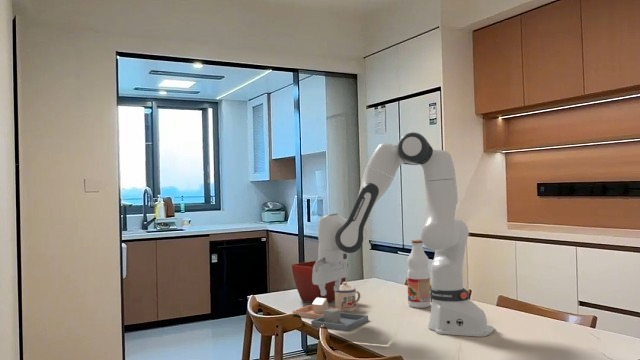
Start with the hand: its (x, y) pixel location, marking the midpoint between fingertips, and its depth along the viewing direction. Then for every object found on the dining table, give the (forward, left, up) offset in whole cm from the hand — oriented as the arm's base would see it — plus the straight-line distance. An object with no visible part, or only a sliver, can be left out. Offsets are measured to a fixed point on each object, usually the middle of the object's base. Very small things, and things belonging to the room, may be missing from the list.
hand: (330, 293), depth 197 cm
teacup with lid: (+5, -22, -12) cm, 26 cm away
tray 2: (-4, 0, -11) cm, 12 cm away
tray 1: (+11, -7, -11) cm, 18 cm away
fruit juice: (-19, -41, -12) cm, 47 cm away
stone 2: (-1, 0, -11) cm, 11 cm away
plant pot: (+25, -32, -12) cm, 43 cm away
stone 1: (+11, -11, -10) cm, 18 cm away
